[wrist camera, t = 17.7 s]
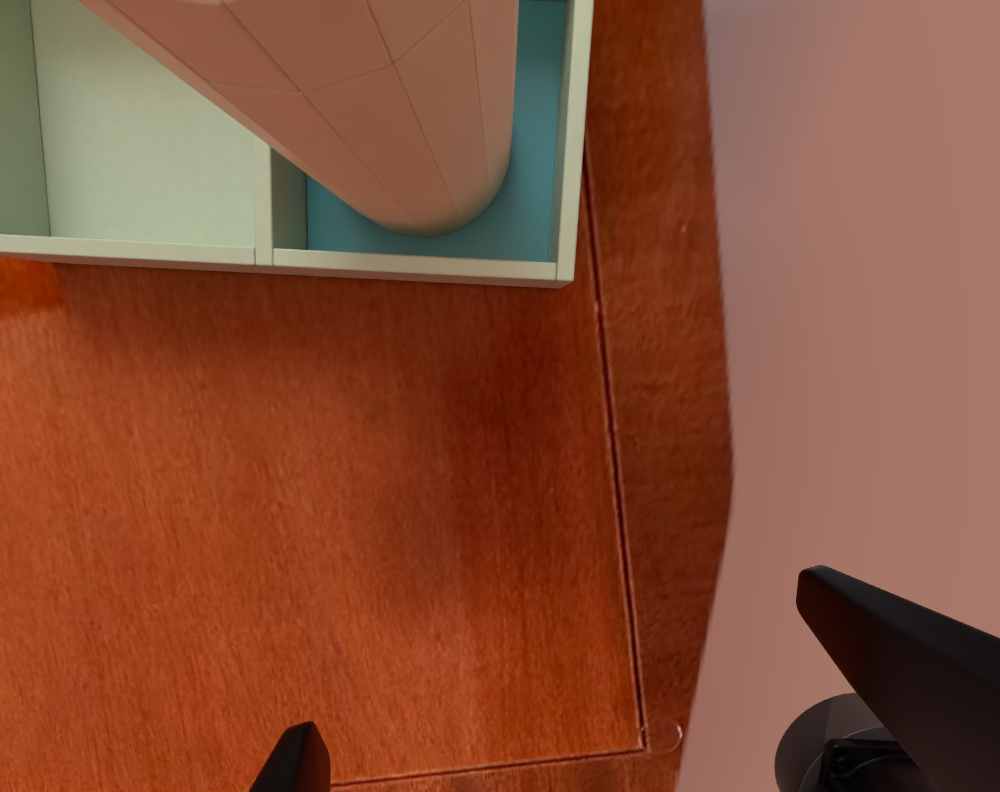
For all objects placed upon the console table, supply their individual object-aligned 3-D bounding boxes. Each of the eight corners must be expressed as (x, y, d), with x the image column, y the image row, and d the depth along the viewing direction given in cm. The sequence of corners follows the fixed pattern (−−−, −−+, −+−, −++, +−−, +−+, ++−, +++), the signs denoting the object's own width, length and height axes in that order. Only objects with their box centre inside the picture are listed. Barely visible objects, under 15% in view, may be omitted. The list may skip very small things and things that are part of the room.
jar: (547, 158, 18) (688, -359, 4) (409, 273, 19) (152, 144, 5) (432, 2, 17) (159, -1235, 4) (293, 128, 18) (-393, -503, 4)
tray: (581, -5, 18) (600, -83, 14) (561, 288, 20) (573, 281, 16) (23, -34, 18) (-91, -118, 14) (50, 262, 20) (-48, 250, 16)
